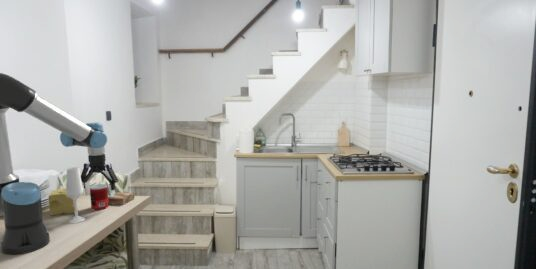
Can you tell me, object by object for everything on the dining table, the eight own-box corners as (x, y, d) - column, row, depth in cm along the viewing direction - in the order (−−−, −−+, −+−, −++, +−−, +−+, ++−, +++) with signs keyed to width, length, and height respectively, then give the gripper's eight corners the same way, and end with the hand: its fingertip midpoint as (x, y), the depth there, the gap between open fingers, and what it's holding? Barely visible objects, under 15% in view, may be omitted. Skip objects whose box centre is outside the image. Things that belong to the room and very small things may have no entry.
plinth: (123, 204, 176) (123, 198, 176) (106, 203, 178) (105, 197, 178) (134, 198, 186) (134, 193, 186) (118, 197, 188) (117, 191, 188)
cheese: (74, 213, 165) (73, 193, 163) (48, 216, 161) (46, 195, 159) (77, 206, 174) (76, 187, 173) (53, 209, 170) (51, 189, 169)
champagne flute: (65, 221, 154) (60, 169, 151) (78, 216, 160) (75, 166, 157) (74, 223, 151) (70, 170, 148) (88, 218, 157) (85, 167, 154)
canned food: (111, 205, 176) (110, 184, 175) (102, 210, 168) (101, 188, 167) (97, 204, 177) (96, 183, 175) (87, 210, 169) (86, 188, 167)
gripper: (124, 153, 170) (126, 194, 173) (80, 151, 175) (83, 191, 178) (114, 156, 163) (117, 199, 166) (68, 154, 168) (72, 196, 171)
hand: (99, 195), depth 172 cm, fingers open, 13 cm apart
